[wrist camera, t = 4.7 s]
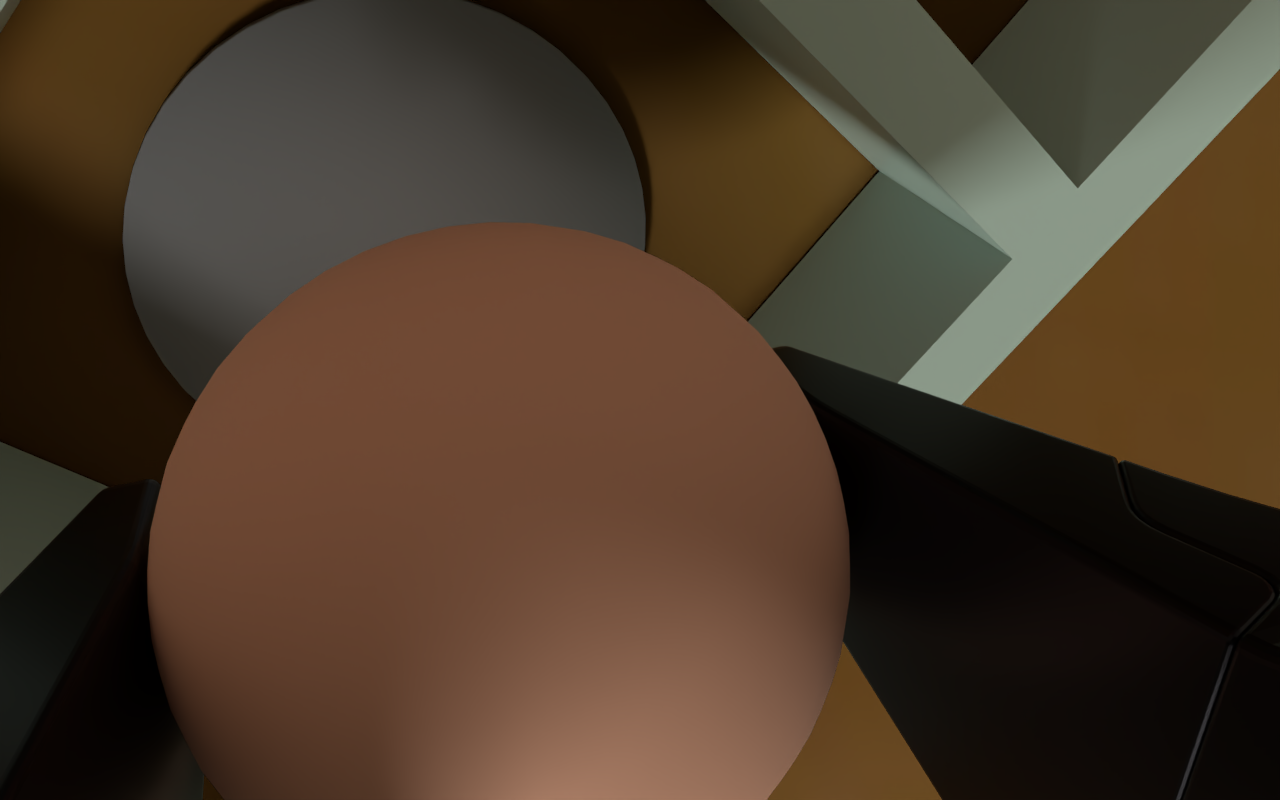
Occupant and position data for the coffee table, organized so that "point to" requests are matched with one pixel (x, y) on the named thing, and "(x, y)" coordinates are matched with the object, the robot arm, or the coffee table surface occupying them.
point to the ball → (499, 536)
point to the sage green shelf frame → (933, 181)
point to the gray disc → (355, 158)
